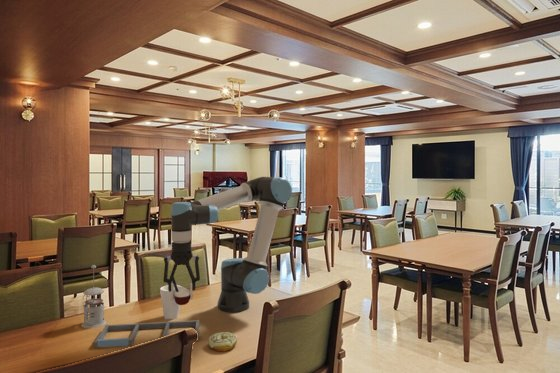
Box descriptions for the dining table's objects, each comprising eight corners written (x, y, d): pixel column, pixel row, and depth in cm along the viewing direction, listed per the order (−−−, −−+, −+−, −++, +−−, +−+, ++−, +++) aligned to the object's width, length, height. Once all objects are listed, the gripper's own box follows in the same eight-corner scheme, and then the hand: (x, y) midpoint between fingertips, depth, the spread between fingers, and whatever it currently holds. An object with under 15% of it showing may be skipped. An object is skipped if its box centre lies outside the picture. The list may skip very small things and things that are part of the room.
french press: (90, 330, 162) (89, 269, 161) (73, 324, 168) (73, 265, 168) (111, 322, 171) (111, 264, 170) (95, 317, 177) (94, 261, 176)
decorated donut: (207, 353, 143) (207, 342, 143) (210, 340, 154) (210, 330, 154) (236, 352, 144) (236, 341, 144) (237, 339, 155) (237, 330, 154)
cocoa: (190, 300, 164) (191, 271, 164) (195, 304, 158) (195, 274, 158) (166, 303, 159) (167, 273, 159) (170, 307, 153) (171, 276, 154)
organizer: (199, 324, 169) (199, 319, 169) (197, 341, 152) (197, 334, 152) (106, 329, 163) (106, 323, 162) (94, 347, 146) (94, 341, 146)
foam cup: (176, 321, 172) (176, 291, 172) (156, 319, 174) (156, 290, 174) (185, 313, 182) (185, 285, 181) (166, 312, 183) (166, 284, 183)
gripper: (206, 238, 163) (207, 294, 164) (157, 240, 160) (158, 297, 161) (206, 242, 156) (207, 300, 157) (154, 243, 152) (155, 303, 153)
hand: (182, 298), depth 159 cm, fingers closed on cocoa, 7 cm apart
